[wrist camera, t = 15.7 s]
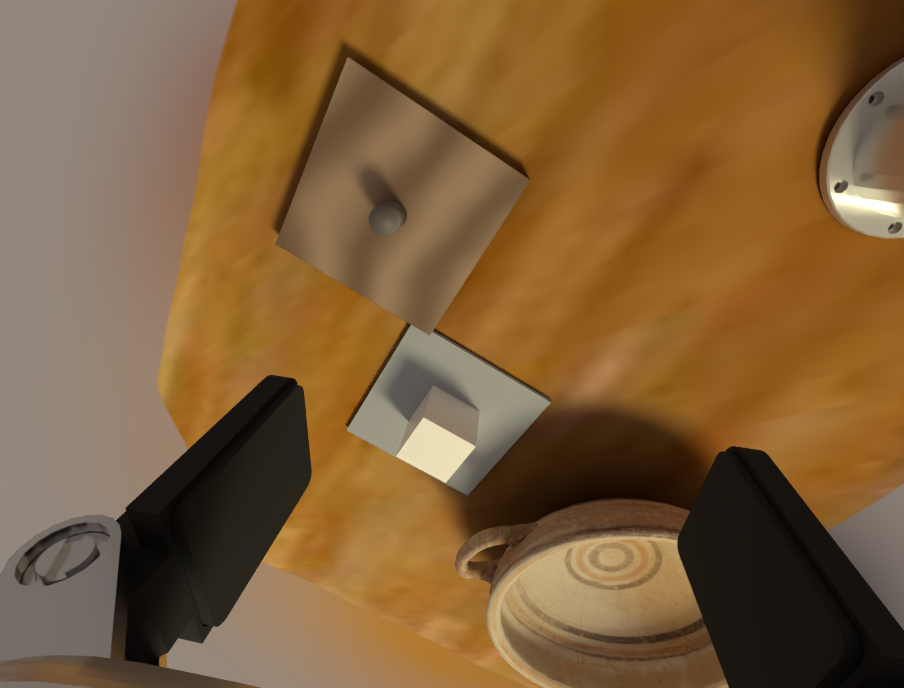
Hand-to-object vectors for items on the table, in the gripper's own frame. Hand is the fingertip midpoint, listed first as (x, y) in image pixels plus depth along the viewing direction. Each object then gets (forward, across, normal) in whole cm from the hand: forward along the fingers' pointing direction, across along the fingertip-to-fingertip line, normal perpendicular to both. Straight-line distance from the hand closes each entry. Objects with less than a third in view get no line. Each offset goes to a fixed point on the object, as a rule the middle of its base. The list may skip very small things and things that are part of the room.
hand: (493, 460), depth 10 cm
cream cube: (+28, +5, +20) cm, 35 cm away
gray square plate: (+29, +5, +20) cm, 36 cm away
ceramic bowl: (+29, -16, +36) cm, 50 cm away
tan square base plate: (+29, +10, 0) cm, 31 cm away
